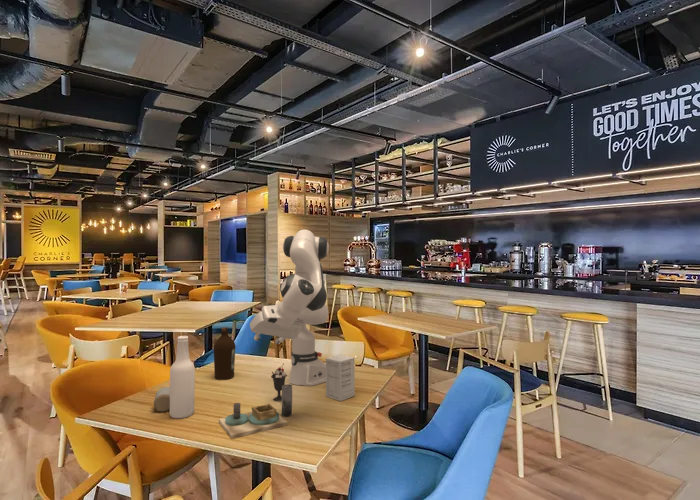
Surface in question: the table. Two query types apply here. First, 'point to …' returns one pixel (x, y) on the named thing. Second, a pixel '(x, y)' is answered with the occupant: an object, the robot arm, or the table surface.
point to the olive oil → (224, 356)
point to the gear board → (251, 421)
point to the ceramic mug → (162, 399)
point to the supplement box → (340, 377)
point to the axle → (286, 400)
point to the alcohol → (182, 382)
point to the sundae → (279, 382)
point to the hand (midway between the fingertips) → (266, 341)
